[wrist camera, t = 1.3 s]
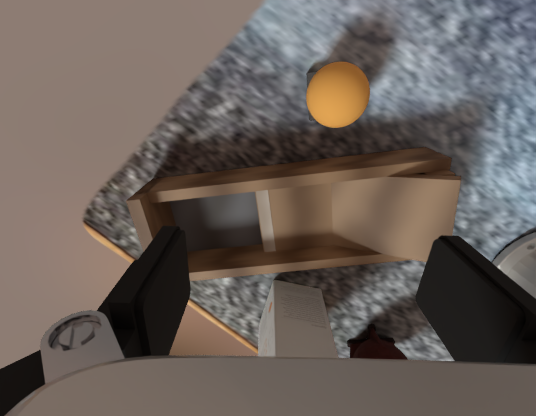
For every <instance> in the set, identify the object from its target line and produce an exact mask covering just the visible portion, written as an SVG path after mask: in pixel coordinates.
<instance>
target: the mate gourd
mask: <svg viewBox="0 0 536 416" xmlns="http://www.w3.org/2000/svg"><path fill="white" fill-rule="evenodd" d="M347 344H348V347H350V358H361V359H397V360H408V359H407V357H406V356H405V355H404V354H403V353H402V352H401V351H400V350H399V349H398V348H397V347H395V345H394V344H395V341H394V340H393V338H379V337H378V335H377V334H376V332H375V325H374V324H370V325H368V335H367V339H360V340H348V341H347Z"/></svg>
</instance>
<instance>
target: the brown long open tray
mask: <svg viewBox="0 0 536 416" xmlns="http://www.w3.org/2000/svg"><path fill="white" fill-rule="evenodd" d="M451 159H452V158H450V157H448V156H445V155H443V154H441V153H438V152H436V151H434V150H431V149H429V148H427V147H420V148H411V149H403V150H394V151H386V152H377V153H369V154H360V155H352V156H343V157H335V158H326V159H318V160H309V161H301V162H292V163H284V164H275V165H266V166H258V167H249V168H241V169H232V170H224V171H215V172H207V173H198V174H190V175H181V176H173V177H164V178H156V179H152V180H151V181H149V182H148V183H147V184H146V185H145V186H143V187H142V188H141V189H140V190H139V191H137V192H136V193H135V194H134V195H133V196H131V197H130V198H129V199H128V200H127V201H126V203H127V205H128V208H129V211H130V214H131V217H132V220H133V222H134V225H135V228H136V231H137V234H138V237H139V240H140V242H141V245H142V248H143V251H145V250H146V248H147V247H148V245H149V244H150V243H151V241H152V240H153V238H154V237H155V236H156V234H157V233H158V231H159V230H160V229H161V227H162V226H179V227H180V230H184V231H185V234H186V245H187V256H188V267H189V278H190V281H195V280H205V279H216V278H226V277H237V276H247V275H258V274H268V273H278V272H289V271H299V270H310V269H320V268H331V267H341V266H352V265H362V264H372V263H383V262H393V261H404V260H418V261H423V262H427V260H428V256H429V253H430V250H431V247H432V244H433V242H434V240H435V239H438V237H439V236H441V235H448V236H452V233H453V227H454V220H455V214H456V208H457V202H458V195H459V189H460V183H461V176H455V173H453V172H451V171H449V170H450V166H451Z"/></svg>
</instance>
